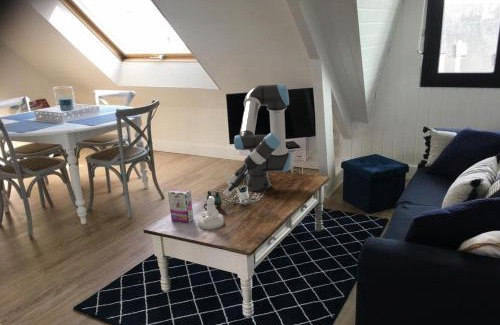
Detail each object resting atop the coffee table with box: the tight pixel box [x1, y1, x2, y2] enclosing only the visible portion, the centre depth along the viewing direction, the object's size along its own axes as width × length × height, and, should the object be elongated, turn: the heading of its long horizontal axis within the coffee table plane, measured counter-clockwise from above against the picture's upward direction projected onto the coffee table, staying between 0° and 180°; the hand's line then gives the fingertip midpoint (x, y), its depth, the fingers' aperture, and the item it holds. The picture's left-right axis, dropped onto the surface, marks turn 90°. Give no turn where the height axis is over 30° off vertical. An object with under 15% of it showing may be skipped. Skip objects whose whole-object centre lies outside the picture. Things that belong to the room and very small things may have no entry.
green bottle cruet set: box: [203, 190, 223, 213], centre depth 221 cm, size 9×11×10 cm
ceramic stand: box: [197, 213, 225, 230], centre depth 207 cm, size 14×14×3 cm
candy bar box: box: [167, 189, 194, 224], centre depth 211 cm, size 11×5×16 cm, turn 66°
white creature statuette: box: [201, 196, 220, 222], centre depth 205 cm, size 10×9×12 cm
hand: (226, 189), depth 201 cm, fingers open, 13 cm apart
